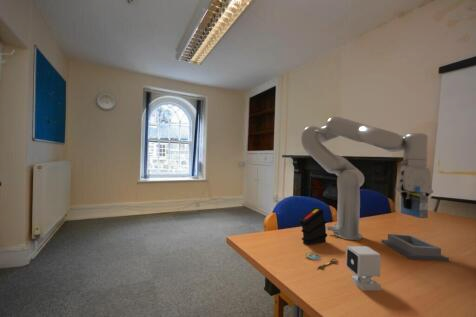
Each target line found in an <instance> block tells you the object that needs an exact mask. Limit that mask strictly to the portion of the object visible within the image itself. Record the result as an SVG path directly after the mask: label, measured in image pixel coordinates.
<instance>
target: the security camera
mask: <svg viewBox="0 0 476 317" xmlns="http://www.w3.org/2000/svg"><path fill="white" fill-rule="evenodd" d="M345 248H346V249H345V250H346V252H345V266H346V269H348V270H349V271H350V272H352V273H353V274H354V275H351V276H350V277H351V278H350V279H351V281H352V283H353V284H355V285H356V286H357V287H358V288H359V289H360V290H361V291H369V292H370V291H382V285H381V284H380V283H379V282H377V281H376V280H375V279H373V277H377V278H379V277H381V266H382V260H381V259H382V258H381V257H382V256H381V254H380V253H379V252H377V251H375V250H373V248H371V247H369V246H364V245H363V246H359V245H354V246H350V245H349V246H348V245H347V246H346V247H345Z"/></svg>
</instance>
